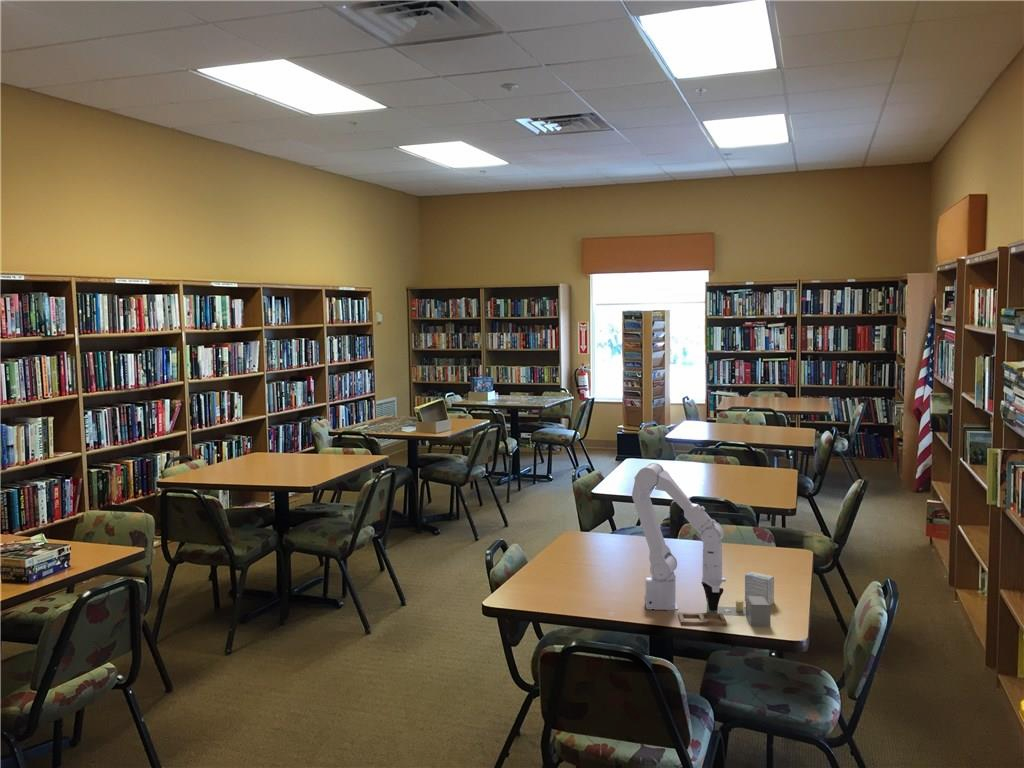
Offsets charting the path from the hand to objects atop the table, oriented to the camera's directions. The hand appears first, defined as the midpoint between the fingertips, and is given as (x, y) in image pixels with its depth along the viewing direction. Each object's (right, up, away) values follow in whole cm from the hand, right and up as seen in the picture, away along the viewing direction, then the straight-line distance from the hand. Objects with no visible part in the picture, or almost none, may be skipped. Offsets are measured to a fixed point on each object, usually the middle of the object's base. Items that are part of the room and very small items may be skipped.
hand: (712, 608), depth 241 cm
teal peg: (0, -1, 0) cm, 1 cm away
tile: (+7, -1, 0) cm, 7 cm away
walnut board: (-5, -2, -7) cm, 9 cm away
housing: (+11, -2, -8) cm, 14 cm away
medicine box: (+17, -1, +8) cm, 19 cm away
